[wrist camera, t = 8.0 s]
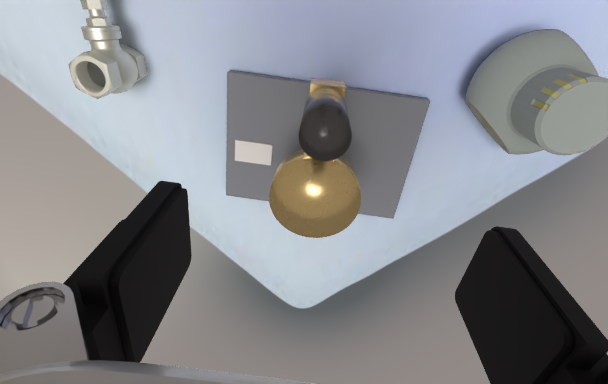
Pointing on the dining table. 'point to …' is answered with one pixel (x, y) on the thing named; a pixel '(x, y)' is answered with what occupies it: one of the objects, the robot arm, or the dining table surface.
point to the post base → (285, 137)
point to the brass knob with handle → (318, 168)
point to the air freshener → (540, 95)
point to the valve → (105, 57)
